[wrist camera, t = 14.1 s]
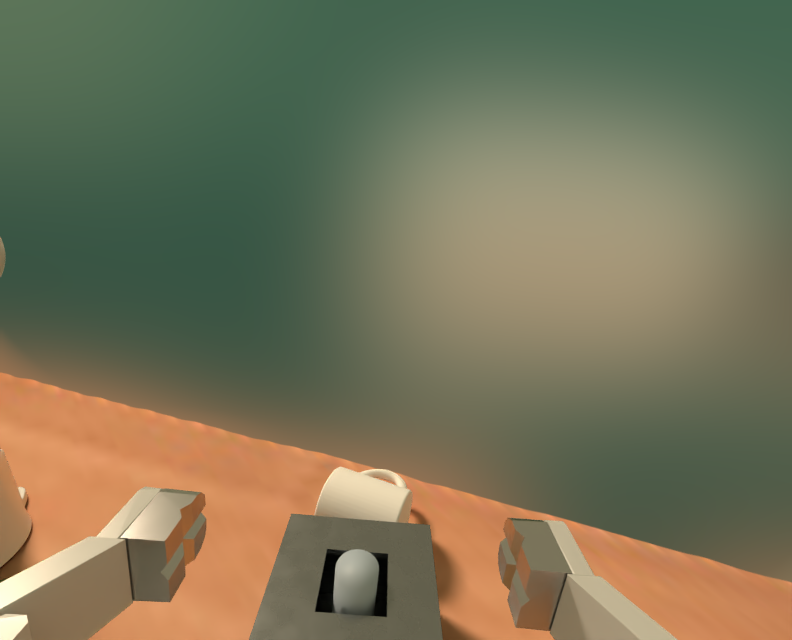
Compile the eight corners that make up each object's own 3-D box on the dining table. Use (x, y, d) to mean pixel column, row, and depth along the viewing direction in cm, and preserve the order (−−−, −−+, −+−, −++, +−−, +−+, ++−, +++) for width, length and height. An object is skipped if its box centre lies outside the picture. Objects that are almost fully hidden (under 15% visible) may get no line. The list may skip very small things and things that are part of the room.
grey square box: (242, 757, 28) (240, 663, 25) (288, 588, 41) (291, 513, 38) (428, 768, 29) (447, 677, 26) (417, 598, 41) (429, 525, 38)
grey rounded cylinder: (326, 686, 32) (334, 590, 29) (329, 639, 36) (336, 549, 33) (369, 683, 33) (380, 588, 30) (367, 638, 36) (377, 549, 33)
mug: (387, 578, 43) (395, 522, 41) (311, 546, 46) (314, 492, 44) (417, 506, 54) (424, 459, 52) (354, 484, 57) (358, 438, 55)
